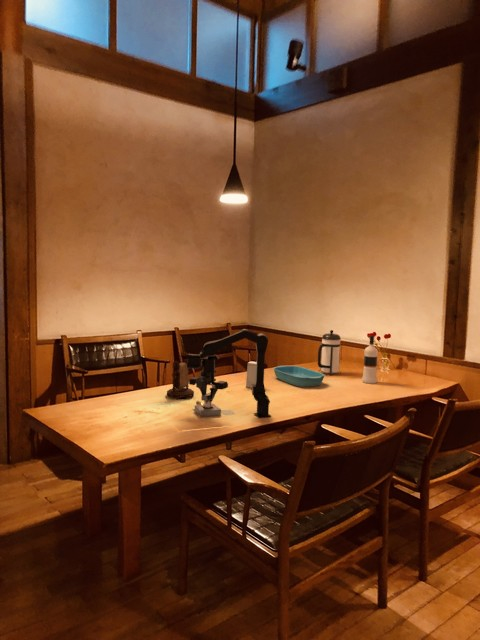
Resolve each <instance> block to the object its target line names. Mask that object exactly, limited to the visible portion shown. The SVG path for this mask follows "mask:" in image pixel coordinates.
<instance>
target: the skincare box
mask: <svg viewBox="0 0 480 640" xmlns="http://www.w3.org/2000/svg"><path fill="white" fill-rule="evenodd" d="M256 364H257V361H249V362H247V367H246V378H245V379H246V381H245V388H250V389H252V384H255V382H256Z"/></svg>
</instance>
